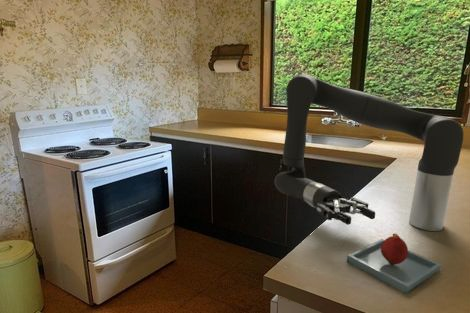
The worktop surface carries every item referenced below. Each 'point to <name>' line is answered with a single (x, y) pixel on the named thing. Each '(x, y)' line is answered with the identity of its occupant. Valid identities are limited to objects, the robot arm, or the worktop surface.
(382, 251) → the onion
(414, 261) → the dish
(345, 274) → the worktop surface
